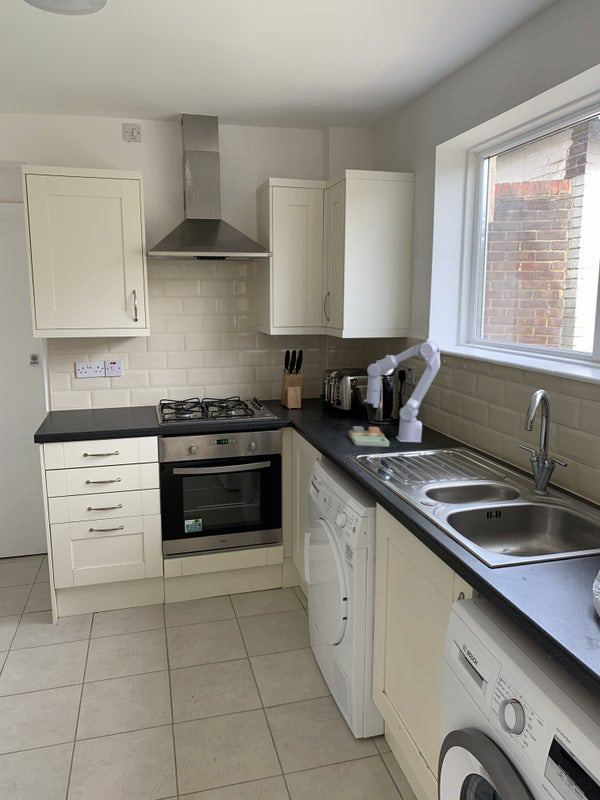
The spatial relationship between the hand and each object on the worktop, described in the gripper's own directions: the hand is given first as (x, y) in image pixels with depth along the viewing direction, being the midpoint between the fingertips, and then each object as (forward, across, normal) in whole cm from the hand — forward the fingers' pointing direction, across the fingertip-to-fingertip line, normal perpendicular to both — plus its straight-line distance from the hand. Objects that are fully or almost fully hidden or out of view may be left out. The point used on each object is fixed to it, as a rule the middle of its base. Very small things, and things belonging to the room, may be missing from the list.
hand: (371, 420), depth 271 cm
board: (+6, +8, -3) cm, 11 cm away
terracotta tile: (+4, +7, 0) cm, 8 cm away
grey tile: (+4, +7, -7) cm, 11 cm away
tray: (+6, +17, -3) cm, 18 cm away
